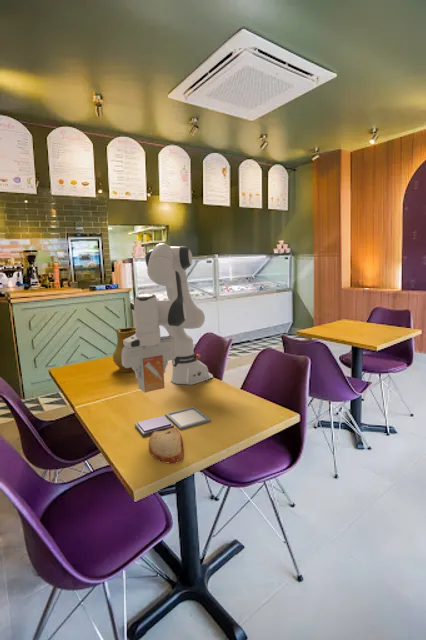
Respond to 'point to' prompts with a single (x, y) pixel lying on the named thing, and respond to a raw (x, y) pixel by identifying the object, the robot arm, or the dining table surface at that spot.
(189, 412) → the print frame
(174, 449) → the bread slice
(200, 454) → the dining table surface
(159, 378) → the small box
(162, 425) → the ink pad
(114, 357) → the pitcher
